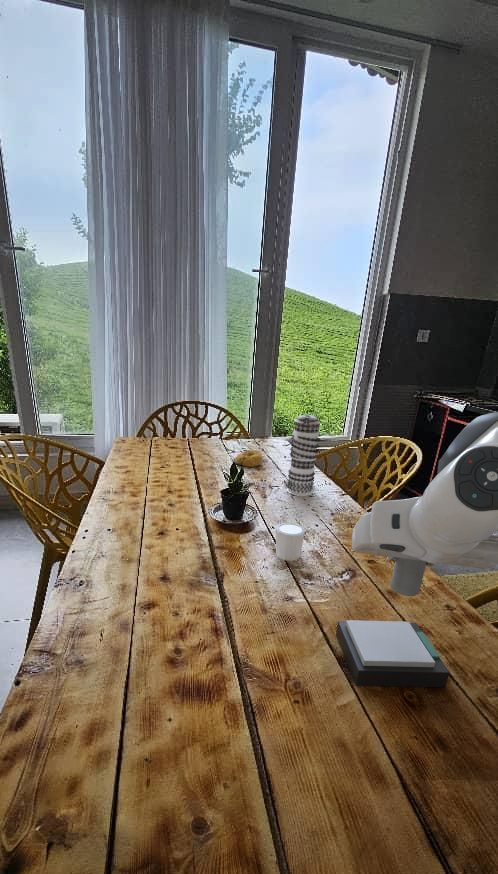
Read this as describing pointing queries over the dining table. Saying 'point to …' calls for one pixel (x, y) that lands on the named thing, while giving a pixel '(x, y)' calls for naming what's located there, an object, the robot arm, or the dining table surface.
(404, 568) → the grey hollow tube
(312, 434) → the banded tower model
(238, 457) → the bagel
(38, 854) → the dining table surface
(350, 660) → the scale
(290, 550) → the white short cylinder
